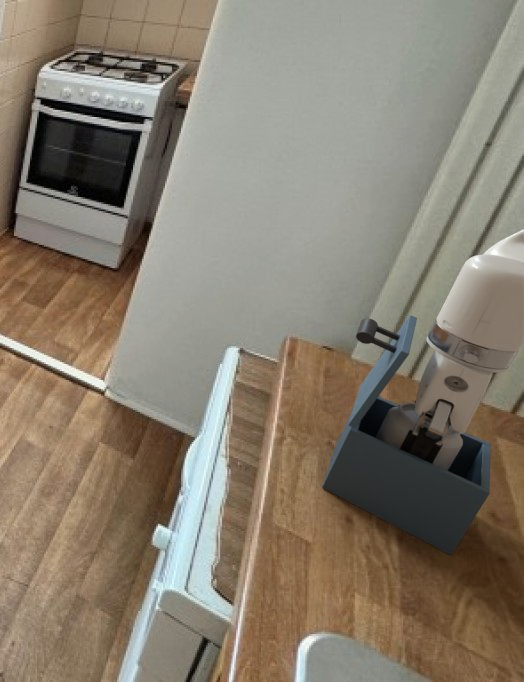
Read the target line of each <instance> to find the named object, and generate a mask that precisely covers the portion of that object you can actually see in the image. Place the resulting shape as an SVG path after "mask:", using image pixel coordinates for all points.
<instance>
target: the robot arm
mask: <svg viewBox="0 0 524 682" xmlns="http://www.w3.org/2000/svg"><path fill="white" fill-rule="evenodd" d="M425 338H426V339H425V341H426V343H427V344H428V346H429V347H431V349H433V351H432V354H431V356H430V357H429V359H428V361H427V364H426V366H425V368H424V370H423V372H422V375H421V378H420V381H419V384H418V388H417V394H416V398H415V400H414V401H413V403H415V410H414V411H415V413H416V414H417V416H419V417H418V420H417V422H416V424H415V427H414V429H413V431H412V430H409V432H408V434H407V436H406V438H405V439H404V441H403V443H402V445H401V447H400V449H401V450H403V451H405V452H407V453H409V454H412V455H414V456H416V457H418V458H420V459H423V460H425V461H427V462H429V463H431V464H432V463H433V462H434V460H435V458H436V456H437V455H438V453H439V451H440V449H441V448H442V446H443V444H442V443H443V440H444V438H445V436H446V433H447V431H448V429H449V426H450V424H451V428H452V430H453V431H456V432H457V433H459V434H463V433H466V432H467V429H468V427H469V426H470V423H471V421H472V420H473V417H474V415H475V414H476V411H477V409H478V408H479V406H480V404H481V401H482V400H483V398H484V395H485V394H486V392H487V390H488V387H489V385H490V382H491V379H492V378H493V375H494V374H493V373H495V374H498V373H500V374H501V373H506V372H507V371H508V370H509V369H510V366H511V364H512V363H513V361H514V359H515V358H516V356H517V354H518V352H519V350H520V349H521V348H522V346H523V345H524V229H521V230H519V231H517V232H515V233H513V234H511V235H509V236H507V237H505V238H503V239H501V240H499V241H497V242H496V243H495V244H493V245H492V246H490V247H489V248H488V249H487V250H486V251H485V252H484V253H483V254H476V255H474V256H471V257H470V258H468V259H467V260H466V261H464V264H463V265H462V267H461V269H460V271H459V273H458V275H457V277H456V279H455V280H454V283H453V285H452V287H451V289H450V290H449V293H448V295H447V297H446V299H445V301H444V303H443V304H442V307H441V309H440V310H439V313H438V315H437V317H436V319H435V320H434V322H433V324H432V326H431V328H430V330H429V332H428V334H427V336H426V337H425ZM426 412H430V413H432V414H433V415H429V414H427V413H426ZM425 420H426V421H429V422H430V423H429V425H428V427H423V428H422V425H423V423H424V421H425Z"/></svg>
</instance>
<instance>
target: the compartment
mask: <svg viewBox="0 0 524 682" xmlns="http://www.w3.org/2000/svg"><path fill="white" fill-rule="evenodd" d="M398 405H399V404H397V403H395V402H393V401H390V400H388V399H387V398H383V397H381V396H380V395H379V396H378V398H377V399H376V400H375V402H374V403H373V405H372V406H371V407H370V409H369V410H368V411H367V413H366V414H365V416H364V417H363V418H362V420H361V421H360V422H359V424H358V425H357V426H356V428H353V427H351V426H349V425H348V423H349V420H350V417H351V414H352V411H353V409H352V410H351V413H350V414H349V417H348V419H347V421H346V422H345V425H344V427H343V430H341V433H340V435H339V438H338V440H337V442H336V444H335V447H334V450H333V453H332V455H331V458H330V461H329V465H328V468H327V470H326V473H325V477H324V480H323V483H322V486H321V488H322V489H324V490H326V492H327V491H328V492H330V493H331V494H333V495H335V496H337V497H339V498H341V499H343V500H344V501H347V502H348V503H351V504H352V505H354V506H356V507H358V508H360V509H362V510H364V511H366V512H368V513H370V514H371V515H373V516H375V517H377V518H378V519H381V520H383V521H384V522H386V523H389V524H390V525H392V526H394V527H396V528H398V529H400V530H402V531H403V532H406V533H408V534H409V535H411V536H413V537H415V538H417V539H418V540H421V541H422V542H424V543H426V544H428V545H431V546H432V547H434V548H436V549H438V550H440V551H442V552H444V553H446V554H447V555H450V556H452V554H453V553H454V551H455V550H456V549H457V546H458V545H459V543H460V542H461V540H462V539H463V537H464V535H465V534H466V532H467V531H468V529H469V527H470V525H471V524H472V523H473V521H474V519H476V516H477V515H478V513H479V512H480V510H481V508H482V507H483V505H484V503H485V502H486V501H487V499H488V497H489V495H490V494H491V463H492V462H491V461H492V459H491V457H492V443H491V442H488V441H486V440H484V439H481V438H479V437H476V436H473V435H472V434H468V433H466V432H465V433H463V434H460V437H461V438H462V440H463V445H462V447H461V449H460V450H459V452H458V454H457V456H456V457H455V459H454V461H453V463H452V464H451V466H450V468H449V469H448V471H447V470H444V469H442V468H440V467H438V466H436V465H434V464H431V463H429V462H427V461H425V460H423V459H420V458H418V457H416V456H414V455H412V454H409V453H407V452H405V451H403V450H401V449H399V448H396V447H394V446H392V445H390V444H388V443H385V442H383V441H381V440H379V439H377V438H375V437H376V435H377V433H378V431H379V429H380V427H381V425H382V423H383V421H384V419H385V417H386V415H387V413H388V411H389V410H390V409H391V408H393V407H398Z"/></svg>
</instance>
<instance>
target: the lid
mask: <svg viewBox="0 0 524 682" xmlns="http://www.w3.org/2000/svg"><path fill="white" fill-rule="evenodd" d="M417 321H418V317H416V316H414V315H412V314H411V315H408V317H407V319H406V320H405V322H404V323H403V324H402V325H401V327H400V328H399V330H398V331H397V333H395V332H393V331H391V330H388V329H386V328H385V327H382V326H380V325H379V324H378V322H377V321H376V320H375V319H373V318H370V317H369V318H368V317H367V318H366V317H365V318H362V320H360V324H359V326H358V329H357V331H356V335H355V338H356V340H357V341H358V342H359V343H361V344H363V345H370V344H373V345H375V346H377V347H379V348H382V349H384V351H383V353H382V354H381V355H380V357H379V358H378V359H377V361H376V363H375V364H374V365H373V367H372V368H371V370H370V371H369V372H368V374H367V375H366V377H365V378H364V380H363V381H362V382H361V384H360V385H359V388H358V392H357V395H356V398H355V401H354V404H353V408H352V410H353V411H352V410H351V412H352V414H351V413H350V415H351V417H350V416H349V417H350V420H349V423H348V425H349V426H351V427H353V428H356V426H357V425H358V424H359V422H360V421H361V420H362V418H363V417H364V416H365V414H366V413H367V411H368V410H369V409H370V407H371V406H372V405H373V403H374V402H375V400H376V399H377V398H378V396H379V397H380V395H381V394H382V392H383V391H384V389H385V388H386V387H387V385H388V384H389V383H390V381H391V380H392V379H393V377H394V376H395V375H396V374H397V372H398V370H399V369H400V368H401V367H402V365H403V363H404V362H405V361H406V359H407V358H408V357H409V355H410V351H411V348H412V343H413V339H414V334H415V330H416V325H417ZM376 333H379V334H381V335H383V336H385V337H388V338H390V339H392V340H391V341H390V343H388V342H386V341H383V340H381V339H379V338H376V337H375V336H376Z"/></svg>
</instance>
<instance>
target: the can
mask: <svg viewBox="0 0 524 682" xmlns="http://www.w3.org/2000/svg"><path fill="white" fill-rule="evenodd" d="M414 410H415V403H414V402H410V401H407V402H406V401H405V402H401V403H399V404H398V407H393V408H391V409H390V410H389V411H388V413H387V415H386V417H385V419H384V421H383V423H382V425H381V427H380V429H379V431H378V433H377V435H376V437H375V438H377V439H379V440H381V441H383V442H385V443H388V444H390V445H392V446H394V447H396V448H399V449H400V447H401V445H402V443H403V441H404V439H405V438H406V436H407V434H408V432H409V430H412V431H413V429H414V427H415V424H416V422H417V420H418V417H419V416H417V414H416V413H415V411H414ZM426 413H427V414H429V415H433V414H432V413H430V412H426ZM429 423H430V422H429V421H426V420H425V421H424V423H423V425H422V428H423V427H428V425H429ZM442 444H443V446H442V448H441V449H440V451H439V453H438V455H437V456H436V458H435V460H434V462H433V463H432V464H434V465H436V466H438V467H440V468H442V469H444V470H447V471H448V469H449V468H450V466H451V464H452V463H453V461H454V459H455V457H456V456H457V454H458V452H459V450H460V449H461V447H462V445H463V440H462V438H461V437H460V434H459V433H457V432H456V431H453V430H452V428H451V424H450V426H449V429H448V431H447V433H446V436H445V438H444V440H443V443H442Z"/></svg>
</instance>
